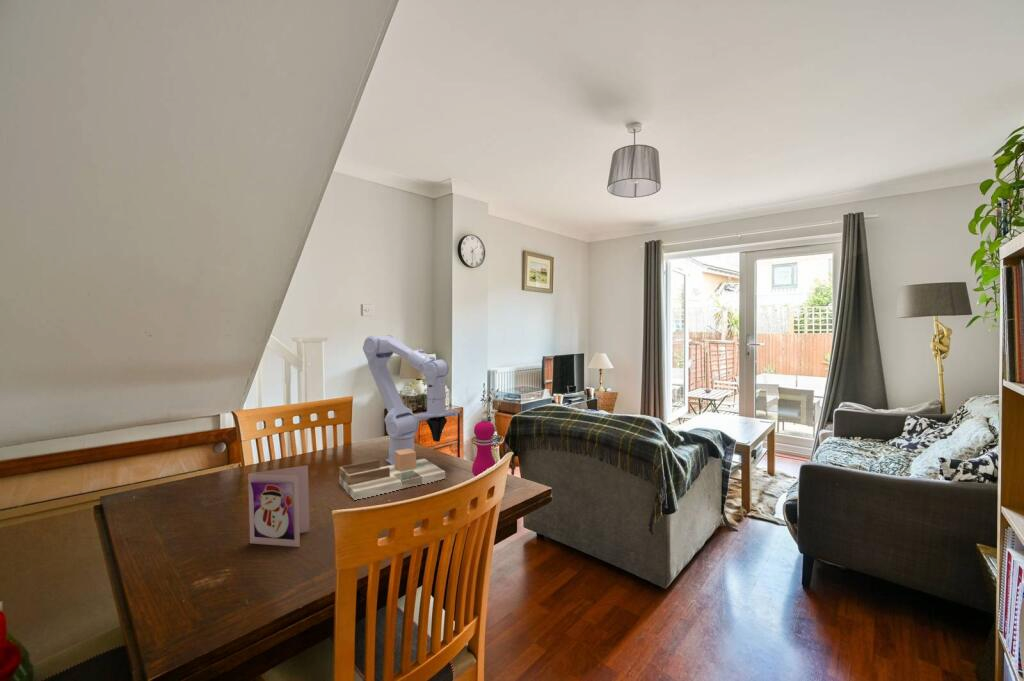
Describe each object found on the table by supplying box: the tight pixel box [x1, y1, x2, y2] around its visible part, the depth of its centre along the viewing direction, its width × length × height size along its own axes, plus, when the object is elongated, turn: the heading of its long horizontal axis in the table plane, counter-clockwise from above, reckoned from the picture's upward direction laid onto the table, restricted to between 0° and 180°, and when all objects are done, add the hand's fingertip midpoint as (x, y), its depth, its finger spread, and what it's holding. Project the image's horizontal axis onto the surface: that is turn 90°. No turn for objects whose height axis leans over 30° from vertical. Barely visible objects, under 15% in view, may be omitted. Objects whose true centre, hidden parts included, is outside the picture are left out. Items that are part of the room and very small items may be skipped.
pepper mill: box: [471, 415, 497, 477], centre depth 124 cm, size 7×7×20 cm
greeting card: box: [247, 465, 310, 548], centre depth 93 cm, size 11×7×15 cm, turn 82°
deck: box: [338, 458, 446, 501], centre depth 127 cm, size 15×26×2 cm, turn 126°
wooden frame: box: [338, 459, 390, 485], centre depth 124 cm, size 10×12×2 cm
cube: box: [394, 448, 417, 472], centre depth 131 cm, size 5×5×5 cm
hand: (436, 440), depth 136 cm, fingers closed
